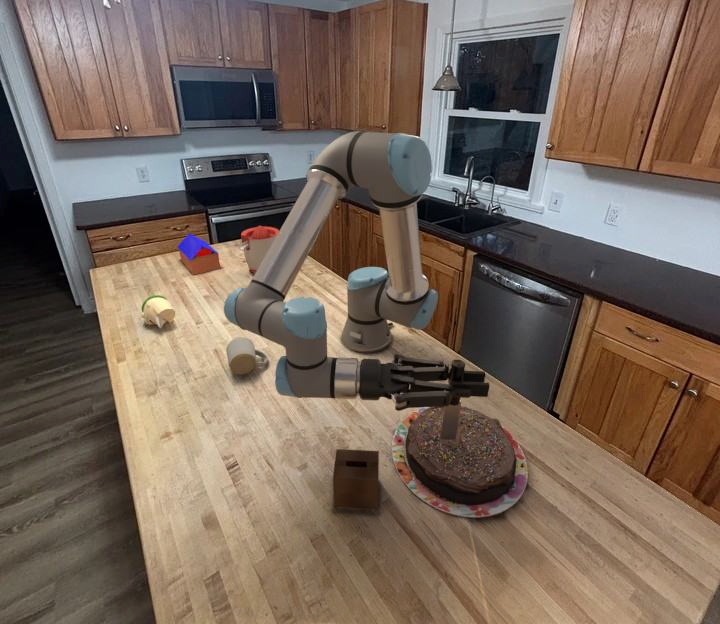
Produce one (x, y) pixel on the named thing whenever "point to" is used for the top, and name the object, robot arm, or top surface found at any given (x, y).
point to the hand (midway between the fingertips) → (485, 384)
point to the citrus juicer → (257, 244)
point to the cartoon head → (157, 310)
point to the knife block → (356, 479)
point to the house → (198, 255)
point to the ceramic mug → (243, 356)
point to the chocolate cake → (460, 463)
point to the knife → (453, 404)
